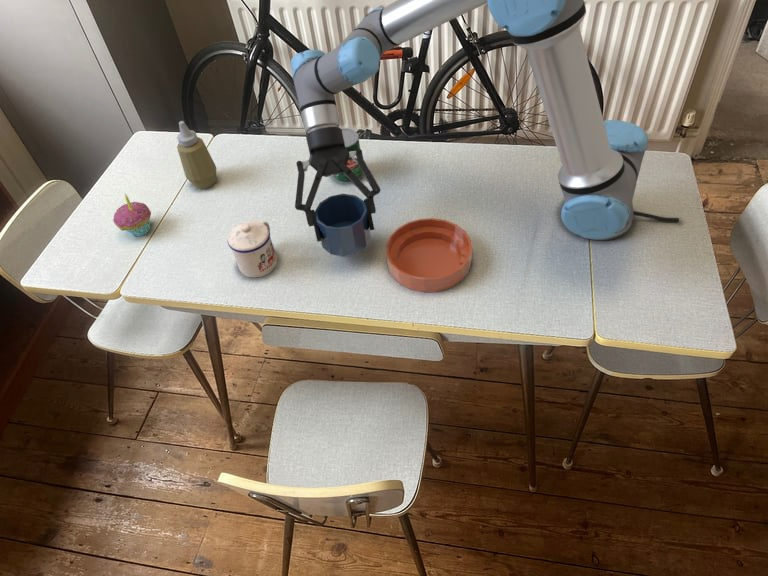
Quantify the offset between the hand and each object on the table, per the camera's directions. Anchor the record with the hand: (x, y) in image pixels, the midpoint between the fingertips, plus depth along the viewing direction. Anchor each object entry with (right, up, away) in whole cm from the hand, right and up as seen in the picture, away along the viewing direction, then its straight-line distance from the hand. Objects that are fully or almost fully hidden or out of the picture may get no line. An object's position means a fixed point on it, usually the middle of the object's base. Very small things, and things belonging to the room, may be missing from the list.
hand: (345, 235), depth 121 cm
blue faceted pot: (0, 0, +5) cm, 5 cm away
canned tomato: (-1, +18, +27) cm, 33 cm away
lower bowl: (+18, -5, +5) cm, 19 cm away
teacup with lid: (-20, -5, +10) cm, 22 cm away
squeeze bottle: (-39, +16, +30) cm, 52 cm away
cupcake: (-51, +3, +20) cm, 55 cm away
